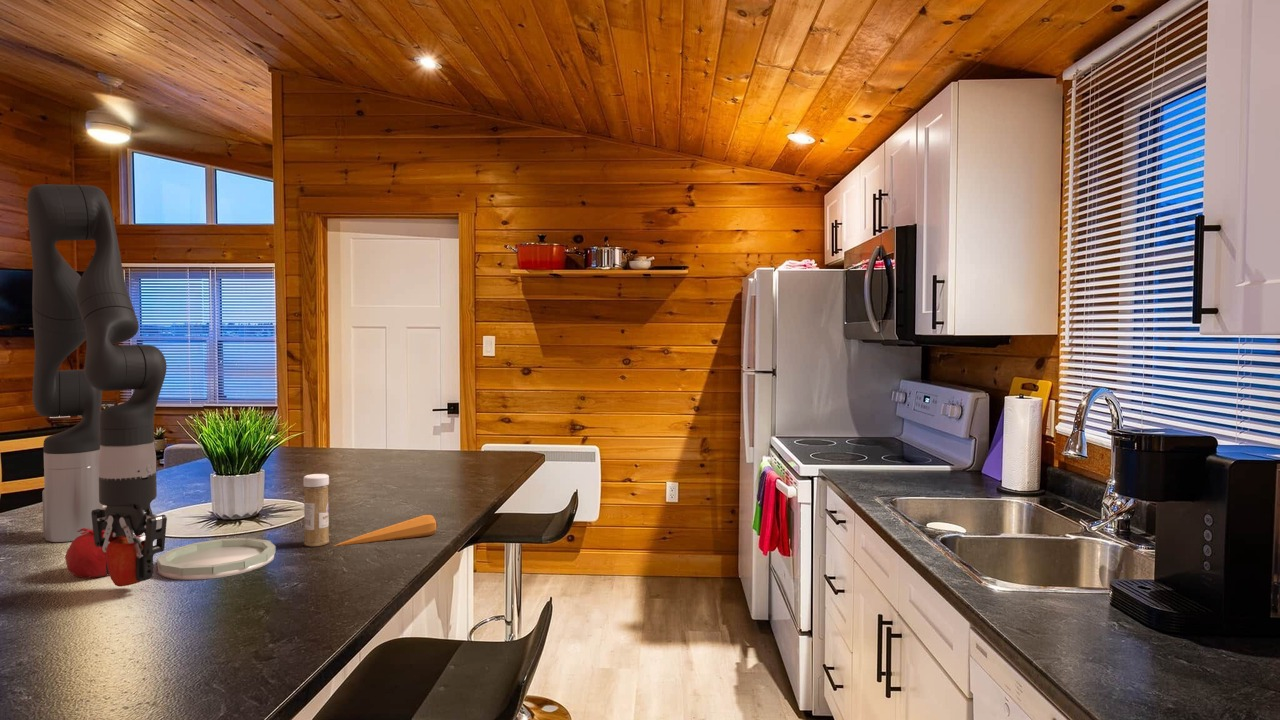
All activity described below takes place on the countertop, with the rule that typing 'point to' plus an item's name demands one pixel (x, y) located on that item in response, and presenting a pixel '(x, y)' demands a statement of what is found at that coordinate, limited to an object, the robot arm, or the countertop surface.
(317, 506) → the spice jar
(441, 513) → the countertop surface
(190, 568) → the dish
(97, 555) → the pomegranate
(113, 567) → the apple
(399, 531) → the carrot
